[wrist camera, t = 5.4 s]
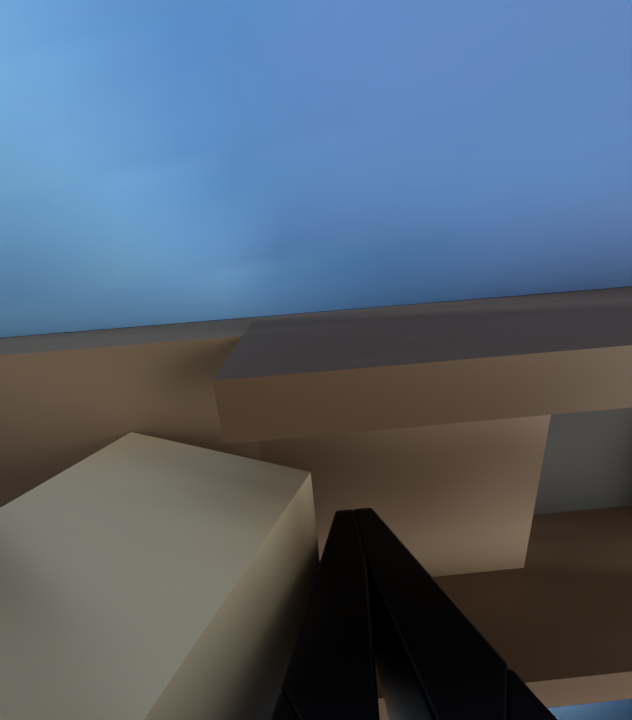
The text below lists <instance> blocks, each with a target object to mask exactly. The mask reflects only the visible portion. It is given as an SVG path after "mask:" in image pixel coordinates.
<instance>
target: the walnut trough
mask: <svg viewBox="0 0 632 720" xmlns="http://www.w3.org/2000/svg"><path fill="white" fill-rule="evenodd" d="M131 432H134V433H138V434H143V435H147V436H152V437H156V438H161V439H165V440H170V441H174V442H178V443H183V444H187V445H192V446H196V447H201V448H205V449H210V450H214V451H219V452H223V453H228V454H232V455H237V456H241V457H246V458H250V459H255V460H259V461H264V462H268V463H273V464H277V465H282V466H286V467H291V468H295V469H300V470H304V471H309V472H311V480H312V489H313V499H314V509H315V519H316V529H317V539H318V549H319V559H320V560H321V557H322V553H323V550H324V547H325V544H326V540H327V537H328V534H329V531H330V527H331V524H332V521H333V518H334V515H335V512H336V511H338V510H348V509H353V510H354V509H359V508H372V509H373V510H374V511H375V512H376V513H377V515H378V516H379V517H380V518H381V519H382V520H383V521H384V523H385V524H386V525H387V526H388V527H389V528H390V529H391V531H392V532H393V533H394V534H395V535H396V536H397V537H398V539H399V540H400V541H401V542H402V543H403V544H404V545H405V547H406V548H407V549H408V550H409V551H410V552H411V553H412V555H413V556H414V557H415V558H416V559H417V560H418V561H419V563H420V564H421V565H422V566H423V567H424V568H425V570H426V571H427V572H428V573H429V574H430V575H431V576H432V578H433V579H434V580H435V581H436V582H437V583H438V584H439V586H440V587H441V588H442V589H443V590H444V591H445V592H446V594H447V595H448V596H449V597H450V598H451V599H452V600H453V602H454V603H455V604H456V605H457V606H458V607H459V608H460V610H461V611H462V612H463V613H464V614H465V615H466V616H467V618H468V619H469V620H470V621H471V622H472V623H473V625H474V626H475V627H476V628H477V629H478V630H479V631H480V633H481V634H482V635H483V636H484V637H485V638H486V639H487V641H488V642H489V643H490V644H491V645H492V646H493V647H494V649H495V650H496V651H497V652H498V653H499V654H500V655H501V657H502V658H503V659H504V660H505V661H506V662H507V664H508V670H509V669H513V670H514V671H515V672H516V673H517V675H518V676H519V677H520V678H521V679H522V680H523V682H524V683H525V684H526V685H527V686H528V687H529V688H530V690H531V691H532V692H533V693H534V694H535V695H536V697H537V698H538V699H539V700H540V701H541V702H542V703H543V704H544V705H545V707H546V708H550V707H559V706H568V705H577V704H587V703H596V702H605V701H614V700H623V699H632V287H620V288H608V289H596V290H583V291H571V292H559V293H546V294H534V295H522V296H509V297H497V298H485V299H473V300H460V301H448V302H436V303H423V304H411V305H399V306H386V307H374V308H362V309H349V310H337V311H325V312H313V313H300V314H288V315H276V316H263V317H251V318H239V319H226V320H214V321H202V322H190V323H177V324H165V325H153V326H140V327H128V328H116V329H103V330H91V331H79V332H66V333H54V334H42V335H30V336H17V337H5V338H0V508H1V507H2V506H4V505H6V504H8V503H9V502H11V501H13V500H15V499H16V498H18V497H20V496H21V495H23V494H25V493H27V492H28V491H30V490H32V489H34V488H35V487H37V486H39V485H41V484H42V483H44V482H46V481H47V480H49V479H51V478H53V477H54V476H56V475H58V474H60V473H61V472H63V471H65V470H66V469H68V468H70V467H72V466H73V465H75V464H77V463H79V462H80V461H82V460H84V459H86V458H87V457H89V456H91V455H92V454H94V453H96V452H98V451H99V450H101V449H103V448H105V447H106V446H108V445H110V444H111V443H113V442H115V441H117V440H118V439H120V438H122V437H124V436H125V435H127V434H129V433H131ZM376 678H377V691H378V704H379V717H380V720H389V716H388V712H387V708H386V704H385V700H384V696H383V692H382V688H381V684H380V680H379V676H378V672H377V669H376Z"/></svg>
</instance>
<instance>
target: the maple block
mask: <svg viewBox="0 0 632 720" xmlns="http://www.w3.org/2000/svg"><path fill="white" fill-rule="evenodd" d="M319 563H320V559H319V549H318V539H317V529H316V519H315V509H314V499H313V489H312V480H311V472H309V471H304V470H300V469H295V468H291V467H286V466H282V465H277V464H273V463H268V462H264V461H259V460H255V459H250V458H246V457H241V456H237V455H232V454H228V453H223V452H219V451H214V450H210V449H205V448H201V447H196V446H192V445H187V444H183V443H178V442H174V441H170V440H165V439H161V438H156V437H152V436H147V435H143V434H138V433H134V432H131V433H129V434H127V435H125V436H124V437H122V438H120V439H118V440H117V441H115V442H113V443H111V444H110V445H108V446H106V447H105V448H103V449H101V450H99V451H98V452H96V453H94V454H92V455H91V456H89V457H87V458H86V459H84V460H82V461H80V462H79V463H77V464H75V465H73V466H72V467H70V468H68V469H66V470H65V471H63V472H61V473H60V474H58V475H56V476H54V477H53V478H51V479H49V480H47V481H46V482H44V483H42V484H41V485H39V486H37V487H35V488H34V489H32V490H30V491H28V492H27V493H25V494H23V495H21V496H20V497H18V498H16V499H15V500H13V501H11V502H9V503H8V504H6V505H4V506H2V507H1V508H0V720H271V717H272V714H273V711H274V708H275V705H276V701H277V698H278V695H279V694H280V693H282V691H281V686H282V683H283V680H284V676H285V673H286V670H287V667H288V663H289V660H290V657H291V654H292V650H293V647H294V644H295V641H296V638H297V634H298V631H299V628H300V625H301V621H302V618H303V615H304V612H305V608H306V605H307V602H308V599H309V595H310V592H311V589H312V586H313V582H314V579H315V576H316V573H317V570H318V566H319Z"/></svg>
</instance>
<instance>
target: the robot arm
mask: <svg viewBox="0 0 632 720" xmlns="http://www.w3.org/2000/svg"><path fill="white" fill-rule="evenodd" d="M376 669H377V672H378V676H379V680H380V684H381V688H382V692H383V696H384V700H385V704H386V708H387V712H388V716H389V720H557V719H556V718H555V716H554V715H553V714H552V713H551V712H550V711H549V710H548V709H547V708H546V707H545V705H544V704H543V703H542V702H541V701H540V700H539V699H538V698H537V697H536V695H535V694H534V693H533V692H532V691H531V690H530V688H529V687H528V686H527V685H526V684H525V683H524V682H523V680H522V679H521V678H520V677H519V676H518V675H517V673H516V672H515V671H514V670H513V669H509V670H508V664H507V662H506V661H505V660H504V659H503V658H502V657H501V655H500V654H499V653H498V652H497V651H496V650H495V649H494V647H493V646H492V645H491V644H490V643H489V642H488V641H487V639H486V638H485V637H484V636H483V635H482V634H481V633H480V631H479V630H478V629H477V628H476V627H475V626H474V625H473V623H472V622H471V621H470V620H469V619H468V618H467V616H466V615H465V614H464V613H463V612H462V611H461V610H460V608H459V607H458V606H457V605H456V604H455V603H454V602H453V600H452V599H451V598H450V597H449V596H448V595H447V594H446V592H445V591H444V590H443V589H442V588H441V587H440V586H439V584H438V583H437V582H436V581H435V580H434V579H433V578H432V576H431V575H430V574H429V573H428V572H427V571H426V570H425V568H424V567H423V566H422V565H421V564H420V563H419V561H418V560H417V559H416V558H415V557H414V556H413V555H412V553H411V552H410V551H409V550H408V549H407V548H406V547H405V545H404V544H403V543H402V542H401V541H400V540H399V539H398V537H397V536H396V535H395V534H394V533H393V532H392V531H391V529H390V528H389V527H388V526H387V525H386V524H385V523H384V521H383V520H382V519H381V518H380V517H379V516H378V515H377V513H376V512H375V511H374V510H373V509H372V508H359V509H354V510H353V509H348V510H338V511H336V512H335V515H334V518H333V521H332V524H331V527H330V531H329V534H328V537H327V540H326V544H325V547H324V550H323V553H322V557H321V560H320V563H319V566H318V570H317V573H316V576H315V579H314V582H313V586H312V589H311V592H310V595H309V599H308V602H307V605H306V608H305V612H304V615H303V618H302V621H301V625H300V628H299V631H298V634H297V638H296V641H295V644H294V647H293V650H292V654H291V657H290V660H289V663H288V667H287V670H286V673H285V676H284V680H283V683H282V686H281V691H282V693H280V694H279V695H278V698H277V701H276V705H275V708H274V711H273V714H272V717H271V720H380V717H379V704H378V691H377V678H376Z"/></svg>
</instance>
